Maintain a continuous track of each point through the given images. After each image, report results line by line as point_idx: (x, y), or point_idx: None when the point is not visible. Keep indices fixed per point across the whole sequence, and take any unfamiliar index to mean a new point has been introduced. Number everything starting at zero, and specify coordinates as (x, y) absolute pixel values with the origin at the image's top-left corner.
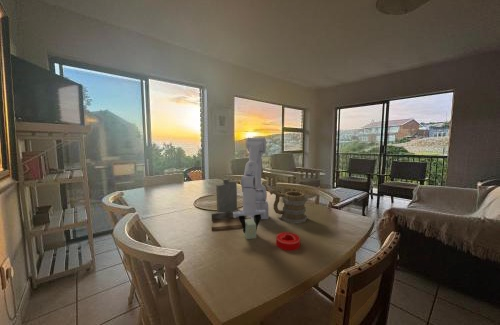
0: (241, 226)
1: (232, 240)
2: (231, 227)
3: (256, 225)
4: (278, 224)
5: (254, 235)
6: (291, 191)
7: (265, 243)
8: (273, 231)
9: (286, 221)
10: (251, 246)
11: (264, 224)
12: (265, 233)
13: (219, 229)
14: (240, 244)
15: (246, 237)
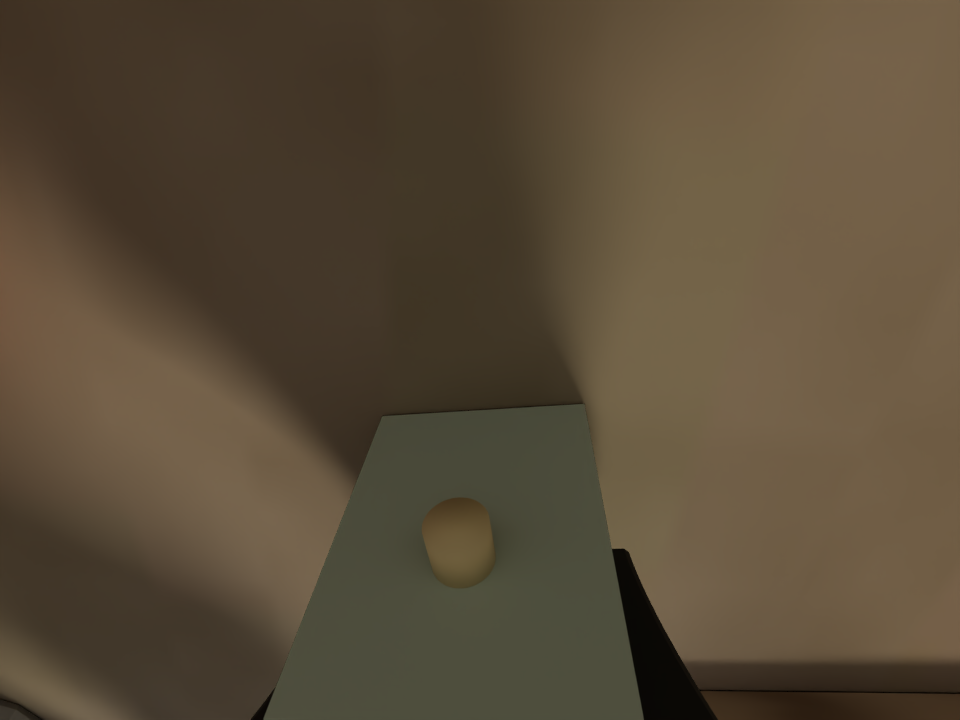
0: None
1: (883, 389)
2: (762, 709)
3: None
4: (102, 682)
5: (405, 452)
6: None
7: (170, 197)
8: (122, 560)
9: (9, 714)
10: (500, 72)
11: None
12: (235, 529)
13: (954, 695)
14: (762, 203)
15: (580, 426)
